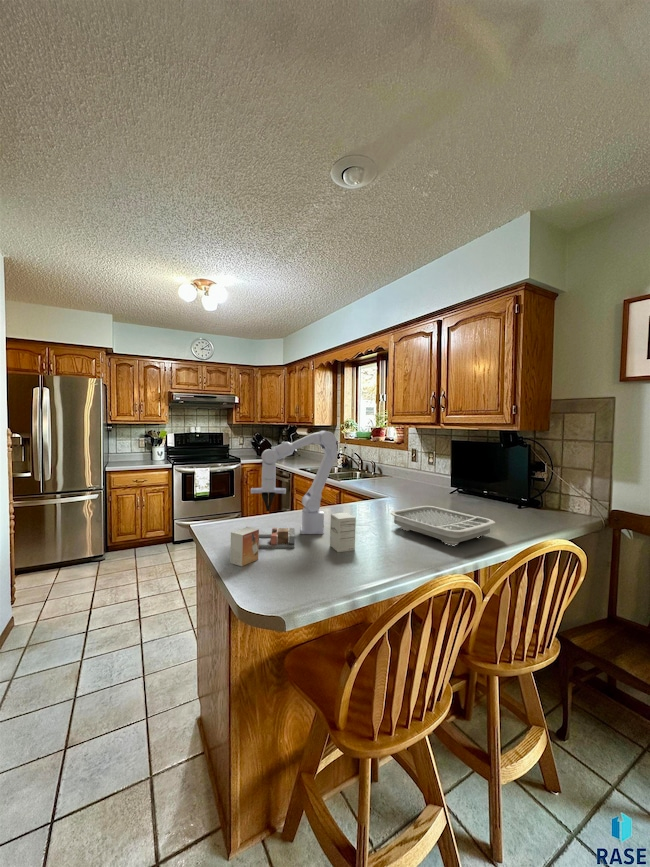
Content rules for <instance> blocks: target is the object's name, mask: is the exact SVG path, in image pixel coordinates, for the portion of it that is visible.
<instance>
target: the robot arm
mask: <svg viewBox="0 0 650 867" xmlns="http://www.w3.org/2000/svg"><path fill="white" fill-rule="evenodd" d="M337 442H338V439H337V438H336V436H335V434H334V432H331V431H327V430H320V431H317V432H313V433H310V434H308V435H305V436H304V437H302V438H299V439H297V440H294V441H293V442H289V441H282V442H281V444H278V445H275V446H273V445H272V446H271V447H270V448H271V449H270V448H268V449H267V448H266V449H265V450H263V451H262V453H261V456H260V458H261V460H262V463H261V465H262V466H261V487H251V488H250V495H251V494H252V495H253V494H261V497H262V500H263V502H264V505H265V506H264V507H265V510H266V511H265V512H270V511H271V507H272V506H271V505H272V503H273V500H274V498H275V495H276V494H283V495H286V494H287V488H286V487H285V488H283V487H276V481H277V480H276V478H277V477H276V476H277V466H276V463H277V461H278V460H281V459H284V458H286V457H288V456H291V455H293V453H294V451H295V450H298V449H300V448H303V447H306V446H308V445H311V444H315V445H316V444H317V445H319V446H320V447H321V448H322V451H323V453H324V454H323V457H322V460H321V462H320V465H319V467H318V469H317V472H316V475H315V476H314V479H313V480H312V484H311V486H310V487H309V488H308V490H307V492H306V493H305V494H304V495H303V496H302V498H301V504H302V505H303V508H302V510H301V527H300V535H301V534H302V535H323V534H324V529H325V521H324V520H325V515H324V514H325V513H324V511H323V510H320V508H321V500H322V499H323V498H322V495H323V494H322V493H323V490H324V487H325V485H326V483H327V480H328V478H329V475H330V473H331V471H332V469H333V465H334V463H335V461H336V459H337V457H338V446H337Z"/></svg>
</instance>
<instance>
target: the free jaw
mask: <svg viewBox="0 0 650 867" xmlns="http://www.w3.org/2000/svg"><path fill="white" fill-rule="evenodd" d="M278 528H279V527H272V528H271V529H272V530H271V540H270V545H279V544H278Z"/></svg>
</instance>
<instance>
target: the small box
mask: <svg viewBox="0 0 650 867" xmlns="http://www.w3.org/2000/svg"><path fill="white" fill-rule="evenodd" d="M259 534H260V529H258V528H255V527H250V526H246V527H243V528H241V529H238V530H237V529H236V530H234V531H231V532H230V555H229V556H230V558H229V559H230V561H229V562H230V564H232V565H236V566H239V567H244V566H247V565H248V564H251V563H253V562H255V561H258V560H259V549H260V548H259V545H260V542H259V541H260V539H259ZM258 548H259V549H258Z"/></svg>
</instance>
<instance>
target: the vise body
mask: <svg viewBox="0 0 650 867" xmlns="http://www.w3.org/2000/svg"><path fill="white" fill-rule="evenodd" d="M271 534H272V533H271ZM271 534H270V533H269V534H267V533H265V534H264V533H263V534H260V533H259V538H261V539H262V538H266V539H267V538H271ZM295 534H296V532H295V527H290V528H288V544H278V545H271V544H259V548H258V550H259V549H295V548H296V546H295V545H296V544H295V542H296V540H295V539H296V536H295Z"/></svg>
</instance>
